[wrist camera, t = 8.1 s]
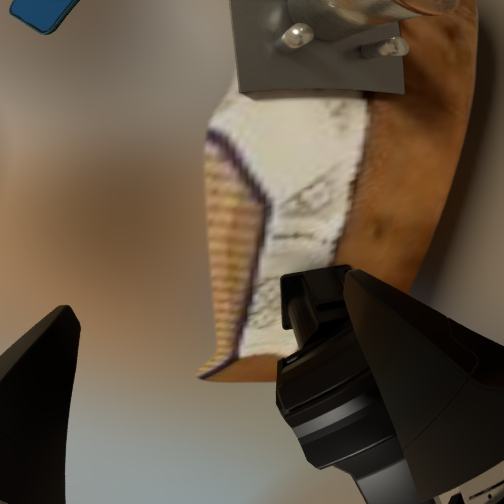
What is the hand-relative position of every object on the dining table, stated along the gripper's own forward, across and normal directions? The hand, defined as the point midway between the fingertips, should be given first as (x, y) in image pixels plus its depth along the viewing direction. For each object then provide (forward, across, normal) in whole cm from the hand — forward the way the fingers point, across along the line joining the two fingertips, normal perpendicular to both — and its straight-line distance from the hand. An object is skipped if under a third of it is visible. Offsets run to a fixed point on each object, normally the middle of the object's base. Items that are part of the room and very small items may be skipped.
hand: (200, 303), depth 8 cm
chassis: (+13, -9, -12) cm, 20 cm away
